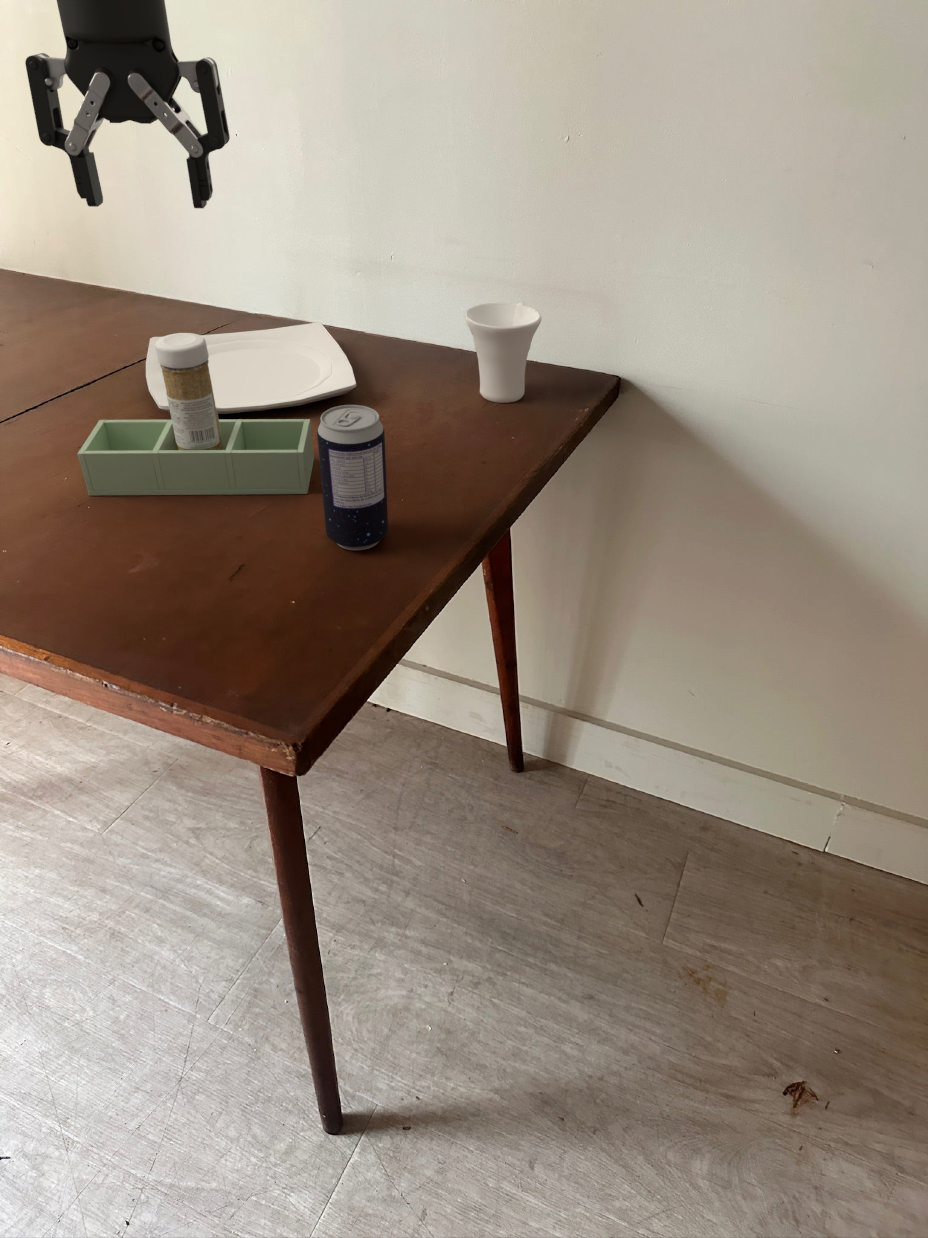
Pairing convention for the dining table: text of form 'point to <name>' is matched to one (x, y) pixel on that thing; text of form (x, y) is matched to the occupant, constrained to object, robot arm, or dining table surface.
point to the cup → (502, 347)
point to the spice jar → (189, 391)
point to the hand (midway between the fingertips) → (148, 205)
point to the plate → (266, 369)
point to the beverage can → (353, 476)
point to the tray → (198, 459)
